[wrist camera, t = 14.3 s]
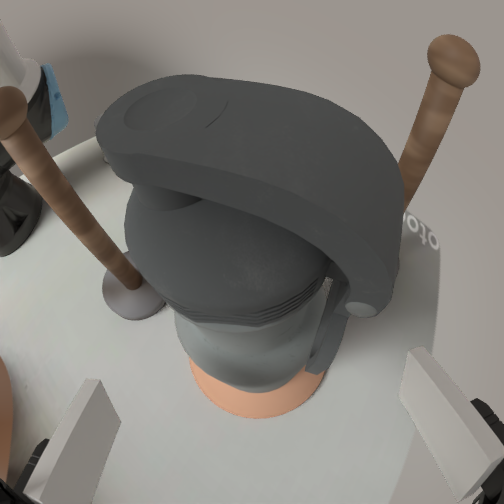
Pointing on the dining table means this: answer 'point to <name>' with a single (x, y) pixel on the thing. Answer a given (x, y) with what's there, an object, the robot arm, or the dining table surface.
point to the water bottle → (255, 219)
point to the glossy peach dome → (258, 394)
